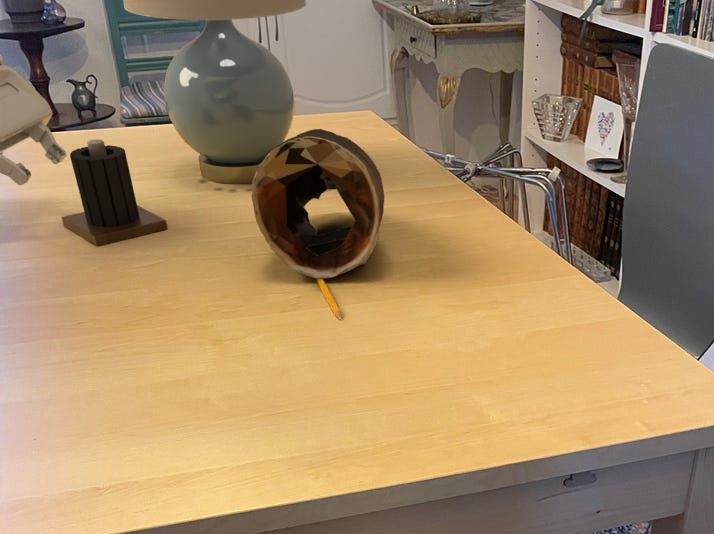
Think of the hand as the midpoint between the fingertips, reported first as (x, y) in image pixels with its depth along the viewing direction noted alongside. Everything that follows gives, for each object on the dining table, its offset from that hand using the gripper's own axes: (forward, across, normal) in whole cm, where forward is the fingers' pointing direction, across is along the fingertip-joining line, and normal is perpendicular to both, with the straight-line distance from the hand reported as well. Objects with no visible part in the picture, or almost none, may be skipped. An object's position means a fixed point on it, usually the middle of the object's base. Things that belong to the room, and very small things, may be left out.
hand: (44, 169), depth 121 cm
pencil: (+35, -18, -24) cm, 46 cm away
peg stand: (+10, 0, 0) cm, 10 cm away
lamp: (+16, +28, -6) cm, 32 cm away
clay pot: (+32, -1, -22) cm, 38 cm away
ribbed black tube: (+9, +1, -1) cm, 9 cm away
